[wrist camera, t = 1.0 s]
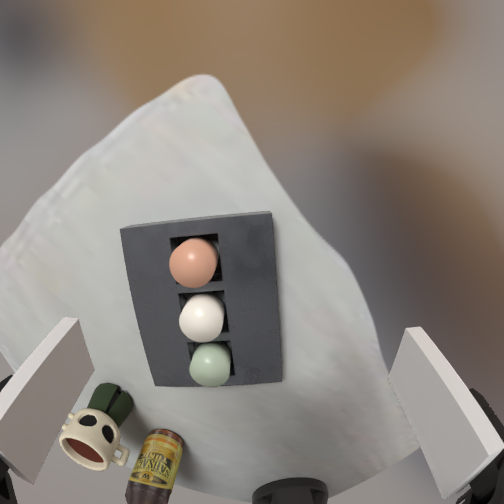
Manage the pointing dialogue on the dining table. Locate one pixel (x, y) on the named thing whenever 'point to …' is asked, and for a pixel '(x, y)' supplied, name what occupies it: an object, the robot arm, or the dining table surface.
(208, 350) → the sage button
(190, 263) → the terracotta button
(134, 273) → the panel
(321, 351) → the dining table surface
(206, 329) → the cream button
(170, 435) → the sauce bottle
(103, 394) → the character mug
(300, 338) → the dining table surface
